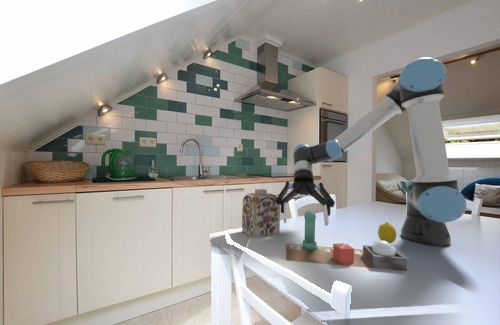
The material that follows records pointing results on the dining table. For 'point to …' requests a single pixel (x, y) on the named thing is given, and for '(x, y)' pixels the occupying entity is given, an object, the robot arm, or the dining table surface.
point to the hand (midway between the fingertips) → (305, 222)
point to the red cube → (343, 253)
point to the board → (360, 260)
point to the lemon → (387, 233)
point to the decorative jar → (260, 214)
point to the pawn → (309, 232)
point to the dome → (383, 248)
